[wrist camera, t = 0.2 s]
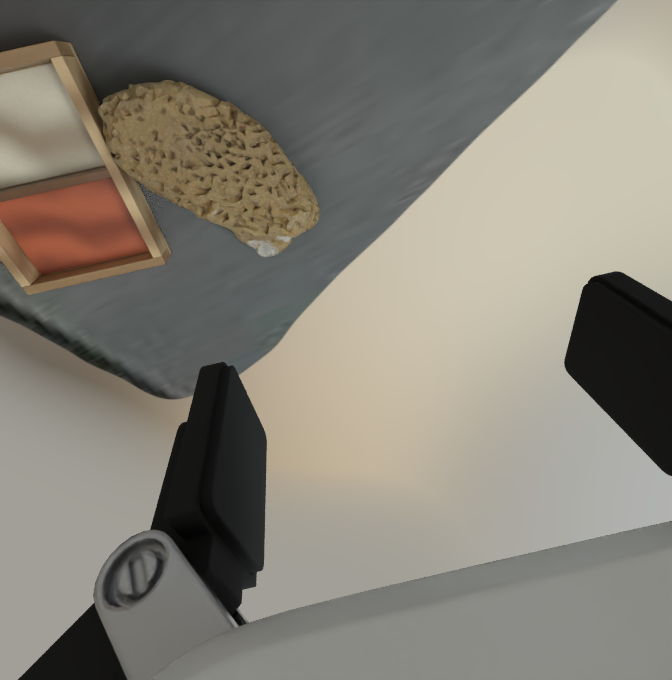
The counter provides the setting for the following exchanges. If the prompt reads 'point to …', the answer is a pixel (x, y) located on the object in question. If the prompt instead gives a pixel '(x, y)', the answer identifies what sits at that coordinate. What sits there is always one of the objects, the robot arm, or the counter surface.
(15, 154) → the tray
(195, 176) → the sponge
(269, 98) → the counter surface
